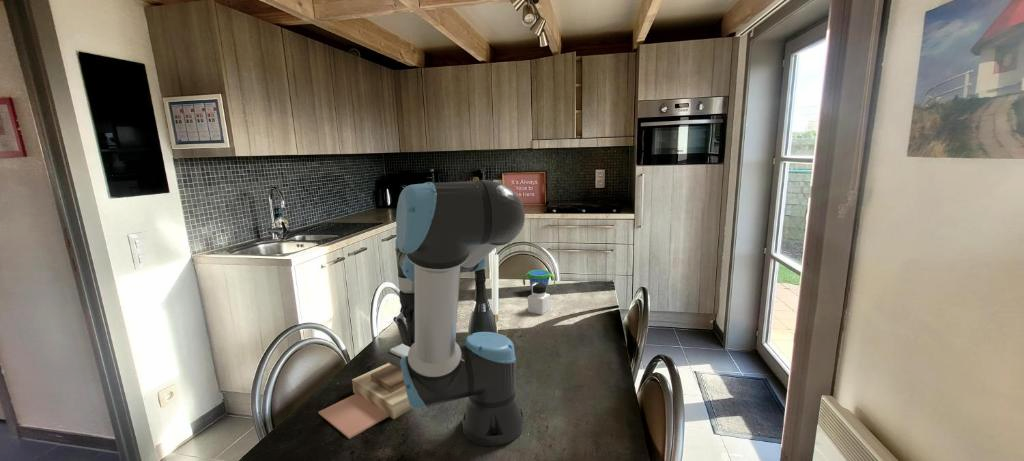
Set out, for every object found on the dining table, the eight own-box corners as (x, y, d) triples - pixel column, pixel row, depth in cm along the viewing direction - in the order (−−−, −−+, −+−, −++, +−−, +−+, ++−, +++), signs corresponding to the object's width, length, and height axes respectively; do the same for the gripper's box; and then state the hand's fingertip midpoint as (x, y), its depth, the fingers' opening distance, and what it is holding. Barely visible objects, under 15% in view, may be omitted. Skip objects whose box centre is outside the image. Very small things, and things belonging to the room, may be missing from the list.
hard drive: (389, 349, 142) (411, 359, 134) (409, 340, 148) (431, 349, 140) (390, 353, 142) (412, 364, 134) (409, 344, 148) (431, 354, 140)
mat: (389, 416, 106) (389, 414, 106) (349, 439, 98) (349, 437, 98) (357, 394, 116) (356, 393, 116) (318, 413, 108) (318, 411, 108)
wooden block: (412, 381, 115) (412, 375, 115) (391, 393, 110) (390, 386, 109) (392, 370, 121) (391, 364, 121) (371, 380, 116) (370, 374, 116)
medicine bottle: (550, 309, 176) (550, 282, 174) (542, 315, 170) (542, 287, 168) (536, 306, 180) (535, 280, 178) (527, 312, 174) (527, 285, 172)
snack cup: (557, 290, 201) (557, 270, 199) (552, 297, 191) (551, 276, 189) (527, 287, 206) (526, 268, 204) (520, 294, 196) (520, 274, 195)
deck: (430, 397, 114) (429, 384, 113) (393, 419, 105) (392, 405, 104) (389, 374, 127) (388, 362, 126) (353, 392, 118) (352, 379, 117)
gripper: (422, 281, 125) (427, 352, 129) (385, 292, 115) (391, 369, 120) (438, 285, 120) (443, 359, 125) (400, 297, 111) (407, 377, 115)
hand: (418, 364), depth 122 cm, fingers closed
